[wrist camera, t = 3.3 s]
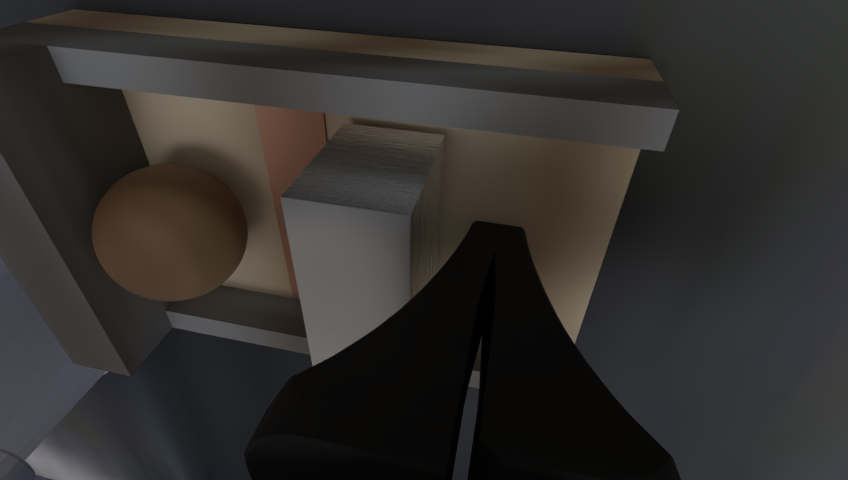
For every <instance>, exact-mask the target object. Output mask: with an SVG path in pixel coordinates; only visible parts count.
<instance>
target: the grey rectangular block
mask: <svg viewBox="0 0 848 480" xmlns="http://www.w3.org/2000/svg"><path fill="white" fill-rule="evenodd" d="M444 142H445V135H440V134H432V133H423V132H415V131H406V130H398V129H389V128H381V127H372V126H364V125H355V124H347V123H344V124H343V125H342V126H341V127H340V128H339V129H338V131H337V132H336V133H335V134H334V135H333V136H332V137H331V139H330V140H329V141H328V142H327V143H326V144H325V146H324V147H323V148H322V149H321V150H320V151H319V153H318V154H317V155H316V156H315V157H314V158H313V160H312V161H311V162H310V163H309V164H308V165H307V166H306V168H305V169H304V170H303V171H302V172H301V173H300V175H299V176H298V177H297V178H296V179H295V180H294V182H293V183H292V184H291V185H290V186H289V187H288V189H287V190H286V191H285V192H284V193H283V194H282V196H281V197H280V198H281V204H282V209H283V214H284V219H285V224H286V230H287V235H288V240H289V245H290V251H291V256H292V261H293V266H294V271H295V277H296V282H297V287H298V292H299V298H300V303H301V308H302V313H303V318H304V324H305V329H306V334H307V339H308V345H309V350H310V355H311V360H312V365H313V366H314V365H316V364H318V363H320V362H322V361H324V360H326V359H328V358H330V357H331V356H333V355H335V354H337V353H338V352H340V351H341V350H343V349H345V348H346V347H348V346H349V345H351V344H352V343H354V342H356V341H357V340H359V339H360V338H362V337H363V336H365V335H367V334H368V333H369V332H371V331H372V330H374V329H375V328H376V327H378V326H379V325H380V324H382V323H383V322H384V321H386V320H387V319H388V318H389V317H391V316H392V315H393V314H394V313H396V312H397V311H398V310H399V309H401V308H402V307H403V306H404V305H405V304H406V303H407V302H409V301H410V300H411V299H412V298H413V297H414V296H415V295H416V294H417V293H418V292H419V291H420V290H421V289H422V288H423V287H424V286H425V285H426V284H427V283H428V282H429V281H430V280H431V279H432V278H433V277H434V275H435V274H436V273H437V265H438V248H439V230H440V212H441V195H442V177H443V159H444Z"/></svg>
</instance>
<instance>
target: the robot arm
mask: <svg viewBox="0 0 848 480" xmlns="http://www.w3.org/2000/svg"><path fill="white" fill-rule="evenodd" d="M481 337H482V342H481V362H480V382H479V399H478V409H477V417H476V424H475V431H474V438H473V445H472V452H471V458H470V465H469V472H468V479H467V480H681V478H680V476H679V473H678V470H677V468H676V465H675V463H674V460H673V458H672V456H671V455H670V454H669V453H668V452H667V451H666V450H665V449H664V448H663V447H662V446H661V445H660V444H659V443H658V442H657V441H656V440H655V439H654V438H653V437H652V436H651V435H650V434H649V433H648V432H647V431H646V430H645V429H644V428H643V427H642V426H641V425H640V424H638V423H637V422H636V421H635V420H634V419H633V418H632V416H631V415H630V414H629V413H628V412H627V411H626V410H625V409H624V407H623V406H622V405H621V404H620V403H619V402H618V401H617V400H616V398H615V397H614V396H613V395H612V394H611V392H610V391H609V390H608V388H607V387H606V386H605V385H604V383H603V382H602V381H601V380H600V378H599V377H598V376H597V374H596V373H595V372H594V371H593V369H592V368H591V367H590V366H589V364H588V363H587V362H586V360H585V359H584V357H583V356H582V354H581V353H580V351H579V350H578V348H577V347H576V345H575V344H574V342H573V341H572V339H571V338H570V336H569V334H568V333H567V331H566V330H565V328H564V326H563V325H562V323H561V321H560V319H559V317H558V316H557V314H556V312H555V310H554V308H553V306H552V304H551V302H550V300H549V298H548V296H547V294H546V292H545V290H544V287H543V285H542V283H541V280H540V278H539V275H538V273H537V271H536V268H535V265H534V262H533V259H532V256H531V253H530V250H529V247H528V243H527V238H526V232H525V230H524V229H523V228H522V227H519V226H512V225H505V224H498V223H491V222H484V221H475V222H474V223H472V224H471V227H470V229H469V230H468V232H467V234H466V236H465V237H464V239H463V240H462V242H461V243H460V245H459V246H458V247H457V249H456V250H455V251H454V253H453V254H452V255H451V257H450V258H449V259H448V260H447V262H446V263H445V264H444V265H443V267H442V268H441V269H440V270H439V271H438V272H437V273H436V274H435V275H434V277H433V278H432V279H431V280H430V281H429V282H428V283H427V284H426V285H425V286H424V287H423V288H422V289H421V290H420V291H419V292H418V293H417V294H416V295H415V296H414V297H413V298H412V299H411V300H410V301H409V302H407V303H406V304H405V305H404V306H403V307H402V308H401V309H399V310H398V311H397V312H396V313H394V314H393V315H392V316H391V317H389V318H388V319H387V320H386V321H384V322H383V323H382V324H380V325H379V326H378V327H376V328H375V329H374V330H372V331H371V332H369V333H368V334H367V335H365V336H363V337H362V338H360V339H359V340H357V341H356V342H354V343H352V344H351V345H349V346H348V347H346V348H345V349H343V350H341V351H340V352H338V353H337V354H335V355H333V356H331V357H330V358H328V359H326V360H324V361H322V362H320V363H318V364H316V365H314V366H312V367H310V368H309V369H307V370H305V371H303V372H301V373H299V374H297V375H295V376H293V377H291V378H289V380H288V381H287V382H286V384H285V385H284V386H283V388H282V389H281V390H280V392H279V393H278V394H277V396H276V397H275V399H274V400H273V402H272V403H271V404H270V406H269V407H268V409H267V410H266V412H265V414H264V416H263V417H262V419H261V421H260V423H259V425H258V427H257V429H256V431H255V433H254V434H253V436H252V438H251V440H250V442H249V444H248V446H247V448H246V451H245V453H244V455H245V461H246V465H247V468H248V471H249V473H250V476H251V478H252V480H452V476H453V470H454V463H455V457H456V451H457V445H458V439H459V433H460V427H461V421H462V415H463V409H464V404H465V399H466V395H467V390H468V387H469V383H470V379H471V375H472V371H473V368H474V364H475V360H476V356H477V352H478V349H479V345H480V341H481ZM107 372H108V371H103V370H99V369H94V368H90V367H85V366H81V365H76V364H73V362H72V361H71V359H70V358H69V356H68V355H67V354H66V352H65V351H64V349H63V348H62V346H61V345H60V343H59V342H58V340H57V339H56V338H55V336H54V335H53V333H52V332H51V330H50V329H49V327H48V326H47V324H46V323H45V322H44V320H43V319H42V317H41V316H40V314H39V313H38V311H37V310H36V308H35V307H34V306H33V304H32V303H31V301H30V300H29V298H28V297H27V295H26V294H25V292H24V291H23V289H22V288H21V287H20V285H19V284H18V282H17V281H16V279H15V278H14V276H13V275H12V273H11V272H10V271H9V269H8V268H7V266H6V265H5V263H4V262H3V260H2V259H1V257H0V480H52V479H49V478H45V477H41V476H37V475H35V472H34V470H33V469H32V468H31V466H30V465H29V464H28V463H27V462H26V461H25V460H26V459H27V457H28V456H29V455H30V454H31V453H32V452H33V451H34V450H35V449H36V448H37V446H38V445H39V444H40V443H41V442H42V441H43V440H44V439H45V438H46V437H47V435H48V434H49V433H50V432H51V431H52V430H53V429H54V428H55V427H56V426H57V424H58V423H59V422H60V421H61V420H62V419H63V418H64V417H65V416H66V415H67V413H68V412H69V411H70V410H71V409H72V408H73V407H74V406H75V405H76V404H77V403H78V401H79V400H80V399H81V398H82V397H83V396H84V395H85V394H86V393H87V392H88V390H89V389H90V388H91V387H92V386H93V385H94V384H95V383H96V382H97V381H98V379H99V378H100V377H101V376H102V375H104V374H106V373H107Z"/></svg>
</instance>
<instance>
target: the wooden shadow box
mask: <svg viewBox="0 0 848 480" xmlns="http://www.w3.org/2000/svg"><path fill="white" fill-rule="evenodd" d="M678 112H679V108H678V107H677V105H676V103H675V101H674V99H673V98H672V96H671V94H670V92H669V90H668V89H667V87H666V85H665V83H664V81H663V80H662V78H661V76H660V74H659V72H658V70H657V69H656V67H655V65H654V63H653V61H652V60H651V59H643V58H631V57H620V56H608V55H597V54H585V53H574V52H562V51H550V50H539V49H527V48H516V47H504V46H493V45H481V44H470V43H458V42H446V41H435V40H423V39H412V38H400V37H389V36H377V35H365V34H354V33H342V32H331V31H319V30H308V29H296V28H285V27H273V26H261V25H250V24H238V23H227V22H215V21H204V20H192V19H180V18H169V17H157V16H146V15H134V14H123V13H111V12H99V11H88V10H76V9H72V10H68V11H65V12H61V13H57V14H54V15H50V16H46V17H42V18H39V19H35V20H31V21H27V22H24V23H20V24H16V25H12V26H9V27H5V28H1V29H0V257H1V259H2V260H3V262H4V263H5V265H6V266H7V268H8V269H9V271H10V272H11V273H12V275H13V276H14V278H15V279H16V281H17V282H18V284H19V285H20V287H21V288H22V289H23V291H24V292H25V294H26V295H27V297H28V298H29V300H30V301H31V303H32V304H33V306H34V307H35V308H36V310H37V311H38V313H39V314H40V316H41V317H42V319H43V320H44V322H45V323H46V324H47V326H48V327H49V329H50V330H51V332H52V333H53V335H54V336H55V338H56V339H57V340H58V342H59V343H60V345H61V346H62V348H63V349H64V351H65V352H66V354H67V355H68V356H69V358H70V359H71V361H72V362H73V364H76V365H81V366H85V367H90V368H94V369H99V370H103V371H108V372H112V373H117V374H122V375H126V376H132V375H133V374H134V372H135V371H136V370H137V369H138V368H139V367H140V365H141V364H142V363H143V362H144V361H145V360H146V358H147V357H148V356H149V355H150V354H151V352H152V351H153V350H154V349H155V348H156V347H157V345H158V344H159V343H160V342H161V341H162V340H163V338H164V337H165V336H166V335H167V334H168V332H169V331H170V330H171V329H172V328H178V329H183V330H188V331H193V332H198V333H203V334H208V335H213V336H218V337H223V338H228V339H233V340H238V341H243V342H248V343H253V344H258V345H263V346H268V347H273V348H278V349H283V350H288V351H293V352H298V353H303V354H308V355H310V350H309V345H308V339H307V334H306V329H305V324H304V318H303V313H302V308H301V303H300V298H299V292H298V287H297V282H296V277H295V271H294V266H293V261H292V256H291V251H290V245H289V240H288V235H287V230H286V224H285V219H284V214H283V209H282V204H281V198H280V197H281V196H282V194H283V193H284V192H285V191H286V190H287V189H288V187H289V186H290V185H291V184H292V183H293V182H294V180H295V179H296V178H297V177H298V176H299V175H300V173H301V172H302V171H303V170H304V169H305V168H306V166H307V165H308V164H309V163H310V162H311V161H312V160H313V158H314V157H315V156H316V155H317V154H318V153H319V151H320V150H321V149H322V148H323V147H324V146H325V144H326V143H327V142H328V141H329V140H330V139H331V137H332V136H333V135H334V134H335V133H336V132H337V131H338V129H339V128H340V127H341V126H342V125H343V124H344V123H347V124H355V125H364V126H372V127H381V128H389V129H398V130H406V131H415V132H423V133H432V134H440V135H445V142H444V159H443V177H442V195H441V212H440V230H439V248H438V265H437V272H438V271H439V270H440V269H441V268H442V267H443V265H444V264H445V263H446V262H447V260H448V259H449V258H450V257H451V255H452V254H453V253H454V251H455V250H456V249H457V247H458V246H459V245H460V243H461V242H462V240H463V239H464V237H465V236H466V234H467V232H468V230H469V229H470V227H471V224H472V223H474V222H475V221H484V222H491V223H498V224H505V225H512V226H519V227H522V228H523V229H524V230H525V232H526V238H527V243H528V247H529V250H530V253H531V256H532V259H533V262H534V265H535V268H536V271H537V273H538V275H539V278H540V280H541V283H542V285H543V287H544V290H545V292H546V294H547V296H548V298H549V300H550V302H551V304H552V306H553V308H554V310H555V312H556V314H557V316H558V317H559V319H560V321H561V323H562V325H563V326H564V328H565V330H566V331H567V333H568V334H569V336H570V338H571V339H572V341H573V342H574V344H575V341H576V338H577V336H578V333H579V330H580V327H581V324H582V321H583V318H584V315H585V312H586V309H587V306H588V303H589V300H590V297H591V294H592V291H593V288H594V285H595V282H596V279H597V276H598V274H599V271H600V268H601V265H602V262H603V259H604V256H605V253H606V250H607V247H608V244H609V241H610V238H611V235H612V232H613V229H614V226H615V223H616V220H617V217H618V215H619V212H620V209H621V206H622V203H623V200H624V197H625V194H626V191H627V188H628V185H629V182H630V179H631V176H632V173H633V170H634V167H635V164H636V161H637V158H638V155H639V153H640V150H641V149H645V150H654V151H663V152H664V150H665V147H666V144H667V142H668V139H669V136H670V134H671V131H672V128H673V126H674V123H675V120H676V118H677V115H678ZM481 342H482V337H481V341H480V345H479V349H478V352H477V356H476V360H475V364H474V368H473V371H472V375H471V379H470V383H469V387H474V388H479V382H480V362H481Z"/></svg>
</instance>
